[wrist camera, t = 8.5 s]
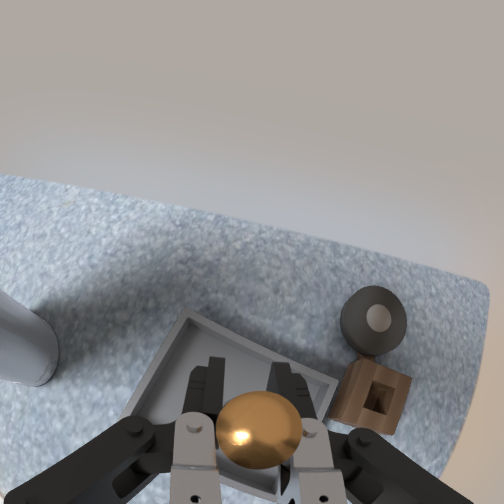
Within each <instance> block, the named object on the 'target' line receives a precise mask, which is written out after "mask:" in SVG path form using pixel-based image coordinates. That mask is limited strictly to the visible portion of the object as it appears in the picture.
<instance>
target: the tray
mask: <svg viewBox="0 0 504 504" xmlns="http://www.w3.org/2000/svg"><path fill="white" fill-rule="evenodd" d="M209 356H215V357H224V358H226V359H225V375H224V392H223V403H224V402H225V401H226V400H228V399H231V398H234V397H236V396H238V395H241V394H244V393H248V392H252V391H266V388H267V383H268V378H269V374H270V369H271V364H272V362H289V364H290V367H291V371H292V373H300V374H301V376H302V377H303V378H304V379H305V380H306V382H307V385H308V390H309V392H310V397H311V399H312V402H313V406H314V409H315V412H316V416H317V419H318V420H319V421H320V422H322V420H323V418H324V416H325V413H326V411H327V409H328V406H329V404H330V402H331V399H332V397H333V395H334V392H335V390H336V387H337V385H338V382H339V380H337V379H335V378H332V377H330V376H328V375H325V374H323V373H320V372H318V371H316V370H313V369H311V368H309V367H307V366H304V365H302V364H300V363H297V362H295V361H293V360H291V359H289V358H286V357H284V356H282V355H280V354H278V353H276V352H273V351H271V350H269V349H267V348H265V347H263V346H261V345H259V344H257V343H255V342H253V341H251V340H248V339H246V338H244V337H242V336H240V335H238V334H236V333H234V332H233V331H231V330H229V329H227V328H225V327H223V326H221V325H219V324H217V323H215V322H213V321H211V320H209V319H208V318H206V317H204V316H202V315H200V314H198V313H196V312H195V311H193V310H191V309H189V308H187V307H184V309H183V311H182V312H181V314H180V316H179V317H178V319H177V320H176V322H175V324H174V325H173V327H172V329H171V330H170V332H169V334H168V335H167V337H166V339H165V340H164V342H163V344H162V345H161V347H160V349H159V350H158V352H157V354H156V355H155V357H154V359H153V360H152V362H151V364H150V365H149V367H148V369H147V371H146V372H145V374H144V376H143V377H142V379H141V381H140V382H139V384H138V386H137V388H136V389H135V391H134V393H133V395H132V396H131V398H130V400H129V402H128V403H127V405H126V407H125V409H124V410H123V412H122V414H121V416H120V417H119V419H118V421H119V420H121V419H122V418H124V417H127V416H141V417H144V418H146V419H148V420H149V421H150V422H151V423H152V425H158V424H168V423H171V422H173V421H175V420H177V418H178V417H179V416H180V415H181V413H182V409H183V404H184V400H185V395H186V390H187V386H188V382H189V376H190V372H191V371H192V370H193V369H194V368H195V367H196V366H197V365H198V366H206V367H208V363H209ZM118 421H117V422H118ZM215 451H216V464H217V467H218V471H219V480H220V483H222V484H225V485H227V486H229V487H232V488H235V489H237V490H240V491H242V492H245V493H248V494H251V495H254V496H256V497H259V498H262V499H266V500H269V501H272V502H275V503H277V501H278V466H275V467H272V468H269V469H261V470H255V469H248V468H244V467H241V466H239V465H237V464H235V463H234V462H232V461H231V460H230V459H229V458H227V457H226V455H225V454H224V453H223V452H222V450H221V448H220V446H219V450H217V449H215Z"/></svg>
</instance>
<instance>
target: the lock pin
mask: <svg viewBox="0 0 504 504" xmlns="http://www.w3.org/2000/svg"><path fill="white" fill-rule="evenodd" d="M216 437H217V441H218V444H219V446H220V448H221V450H222V452H223V453H224V454H225V455H226V457H227V458H229V459H230V460H231V461H232V462H234V463H235V464H237V465H239V466H241V467H244V468H248V469H255V470H261V469H269V468H272V467H275V466H278V465H280V464H282V463H283V462H285V461H286V460H287V459H289V458H290V457H291V456H292V455H293V453H294V452H295V451H296V449H297V448H298V446H299V444H300V441H301V437H302V421H301V418H300V415H299V413H298V411H297V410H296V408H295V407H294V406H293V404H292V403H291V402H289V401H288V400H287V399H286V398H284V397H282V396H280V395H278V394H276V393H273V392H268V391H252V392H248V393H244V394H241V395H238V396H236V397H234V398H231V399H228V400H226V401H225V402H224V403H223V408H222V409H221V411H220V413H219V415H218V418H217V422H216Z"/></svg>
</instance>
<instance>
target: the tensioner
mask: <svg viewBox="0 0 504 504" xmlns="http://www.w3.org/2000/svg"><path fill="white" fill-rule="evenodd" d="M340 326H341V331H342V334H343V336H344V338H345V340H346V342H347V343H348V345H349V346H350V347H351V348H352V349H353V350H355V351H356V352H357V361H355V362H352V363H350V364H349V365H348V367H347V370H346V373H345V375H344V378H343V381H342V383H341V386H340V388H339V391H338V393H337V396H336V398H335V401H334V403H333V405H332V408H331V410H330V412H329V415H328V417H327V418H329V419H332V420H335V421H338V422H340V423H343V424H346V425H349V426H352V427H355V428H368V429H371V430H373V431H374V432H376V433H377V434H384V435H394V433H395V430H396V427H397V424H398V422H399V419H400V416H401V413H402V410H403V407H404V404H405V401H406V397H407V394H408V391H409V387H410V384H411V380H412V378H411V377H409V376H406V375H404V374H401V373H399V372H397V371H394V370H392V369H389V368H387V367H384V366H382V365H380V364H377V363H375V356H379V355H382V354H384V353H387V352H389V351H391V350H393V349H395V348H396V347H397V346H398V345H399V344H400V343H401V341H402V340H403V338H404V336H405V332H406V327H407V319H406V314H405V310H404V308H403V306H402V304H401V302H400V301H399V299H398V298H397V297H396V296H395V295H394V294H393V293H392V292H391V291H389V290H387V289H385V288H383V287H380V286H367V287H364V288H362V289H360V290H359V291H357V292H356V293H355V294H354V295H353V296H352V297H351V298H350V299H348V301H347V302H346V303H345V305H344V306H343V309H342V312H341V316H340Z"/></svg>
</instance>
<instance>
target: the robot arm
mask: <svg viewBox="0 0 504 504" xmlns="http://www.w3.org/2000/svg"><path fill="white" fill-rule="evenodd" d="M58 357H59V348H58V341H57V337H56V335H55V333H54V330H53V329H52V327H51V326H50V325H49V324H48V323H47V322H46V321H45V320H43V319H42V318H40V317H39V316H37V315H36V314H34V313H33V312H31V311H30V310H28V309H27V308H26V307H24V306H23V305H21V304H20V303H18V302H17V301H16V300H14V299H13V298H11V297H10V296H9V295H7V294H6V293H5V292H3V291H2V290H1V289H0V379H3V380H6V381H10V382H14V383H18V384H22V385H26V386H33V387H35V386H40V385H42V384H44V383H46V382H47V381H48V380H49V379H50V378H51V376H52V375H53V374H54V371H55V369H56V367H57V363H58ZM225 359H226V358H224V357H215V356H209V363H208V367H206V366H198V365H197V366H196V367H195V368H194V369H193V370H192V371H191V372H190V376H189V382H188V386H187V390H186V395H185V400H184V404H183V409H182V413H181V415H180V416H179V417H178V418H177V420H175V421H173V422H171V423H168V424H158V425H152V423H151V422H150V421H149V420H148V419H146V418H144V417H141V416H127V417H124V418H122V419H121V420H119V421H118V422H117V423H115V424H114V425H112V426H111V427H110V428H108V429H107V430H105V431H104V432H102V433H101V434H100V435H98V436H97V437H95V438H94V439H92V440H91V441H89V442H88V443H86V444H85V445H83V446H82V447H80V448H79V449H78V450H76V451H74V452H73V453H71V454H70V455H68V456H67V457H65V458H64V459H62V460H61V461H59V462H58V463H56V464H54V465H53V466H51V467H50V468H48V469H47V470H45V471H43V472H42V473H40V474H38V475H37V476H35V477H34V478H32V479H30V480H29V481H27V482H25V483H24V484H22V485H20V486H18V487H17V488H15V489H13V490H11V491H10V492H8V493H7V494H6V496H5V498H4V504H126V503H127V502H129V501H130V500H131V499H132V498H133V497H134V496H135V495H137V494H138V493H139V492H140V491H141V490H142V489H143V488H144V487H146V486H147V485H148V484H149V483H150V482H151V481H152V480H153V479H154V478H155V477H156V476H157V475H158V474H159V473H169V472H171V478H170V504H222V500H221V491H220V480H219V471H218V467H217V464H216V451H215V449H217V450H219V444H218V441H217V437H216V422H217V418H218V415H219V413H220V411H221V409H222V408H223V392H224V375H225ZM266 391H268V392H273V393H276V394H278V395H280V396H282V397H284V398H286V399H287V400H288V401H289V402H291V403H292V404H293V406H294V407H295V408H296V410H297V411H298V413H299V415H300V418H301V421H302V437H301V441H300V444H299V446H298V448H297V449H296V451H295V452H294V453H293V455H292V456H291V457H290V458H289V459H287V460H286V461H285V462H283V463H282V464H280V465H278V501H277V504H347V499H348V500H349V501H350V502H351V503H352V504H474V503H473V502H471V501H470V500H468V499H467V498H465V497H464V496H462V495H461V494H459V493H458V492H456V491H454V490H453V489H452V488H450V487H449V486H447V485H446V484H444V483H443V482H442V481H440V480H439V479H437V478H436V477H435V476H433V475H432V474H430V473H429V472H428V471H426V470H425V469H423V468H422V467H421V466H419V465H418V464H416V463H415V462H414V461H412V460H411V459H410V458H408V457H407V456H406V455H404V454H403V453H402V452H400V451H399V450H398V449H396V448H395V447H394V446H393V445H391V444H390V443H389V442H387V441H386V440H385V439H384V438H382V437H381V436H380V435H378V434H377V433H376V432H374V431H373V430H371V429H368V428H356V429H354V430H352V431H351V432H350V433H349V435H347V434H341V433H335V432H332V431H329V430H327V428H326V426H325V425H324V424H323V423H322V422H320V421H319V420H318V419H317V416H316V412H315V409H314V406H313V402H312V399H311V397H310V392H309V390H308V385H307V382H306V380H305V379H304V378H303V377H302V376H301V374H300V373H292V371H291V367H290V364H289V362H272V364H271V369H270V374H269V378H268V383H267V388H266Z"/></svg>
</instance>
